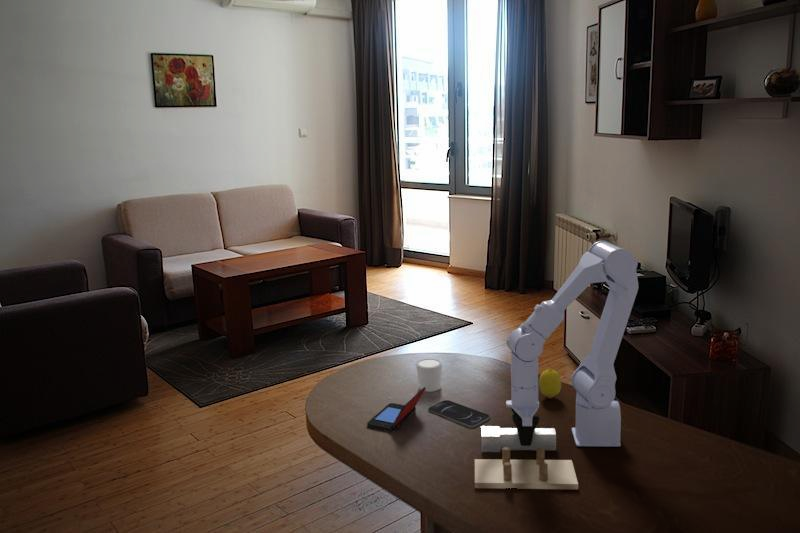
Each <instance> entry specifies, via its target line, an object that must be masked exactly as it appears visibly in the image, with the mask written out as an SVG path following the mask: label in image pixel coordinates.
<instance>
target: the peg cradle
mask: <svg viewBox="0 0 800 533" xmlns="http://www.w3.org/2000/svg"><path fill="white" fill-rule="evenodd" d="M545 452H546V450H545V449H544V448H537V450H536V459H511V450H510V448H508V447H504V448H502V450H501V453H502V455H501V456H502V457H501V458H502V459H499V458H498V459H497V458H496V459H495V458H494V459H492V458H491V459H490V458H487V459H485V458H484V459H482V458H481V459H480V458H479V459H477V458H474V488H475V489H503V490H504V489H506V488H507V489H508V488H510V489H511V488H517V489H520V490H523V489H524V490H528V489H529V490H579V482H578V478H577V475H576V471H575V470H576V469H575V467H574V463H573V459H545V454H546V453H545ZM517 489H516V490H517Z"/></svg>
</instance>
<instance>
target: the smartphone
mask: <svg viewBox="0 0 800 533" xmlns="http://www.w3.org/2000/svg"><path fill="white" fill-rule="evenodd" d="M427 410H428V412H429V413H432V414H434V415H436V416H440V417H441V418H444V419H446V420H449V421H452V422H453V423H457V424H459V425H461V426H464V427H466V428H468V429H473V428H476V427H478V426H481V425H482V424H483V423H485V422H487V421H489V420H490V419H491V416H490V415H489V414H487V413H485V412H482V411H480V410H476V409H474V408H471V407H469V406H466V405H463V404H459V403H457V402H455V401H452V400H448V399H444V400H442V401H440V402H438V403H436V404H434V405H431V406H430V407H428V408H427Z"/></svg>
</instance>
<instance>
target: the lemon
mask: <svg viewBox="0 0 800 533" xmlns="http://www.w3.org/2000/svg"><path fill="white" fill-rule="evenodd" d="M561 388H562V379H561V376H560V374H559V373H558V372H557V371H556V370H554V369H552V368H548V369H545V370H544V371H542V373H541V374H540V376H539V377H538V389H539V390H540V391H539V392H540V393H542V395H543V396H545V397H547V398H548V399H552V398H553V397H555V396H558V394H559V393H560V391H561Z"/></svg>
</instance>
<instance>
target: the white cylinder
mask: <svg viewBox="0 0 800 533" xmlns="http://www.w3.org/2000/svg"><path fill="white" fill-rule="evenodd" d="M442 362H443V361H441V360H439V359H438V358H423V359H421V360H420V359H419V360H418V361H417V362H416V364H415V365H416V372H417V380H418V385H419V386H418V387H419V390H420V391H421V390H422V389H423V388H424V387H425V388H426V389H425V391H424V392H431V393H432V392H435V391H439V390H440V389H441V383H442V369H443V368H442V367H443V363H442Z"/></svg>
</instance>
